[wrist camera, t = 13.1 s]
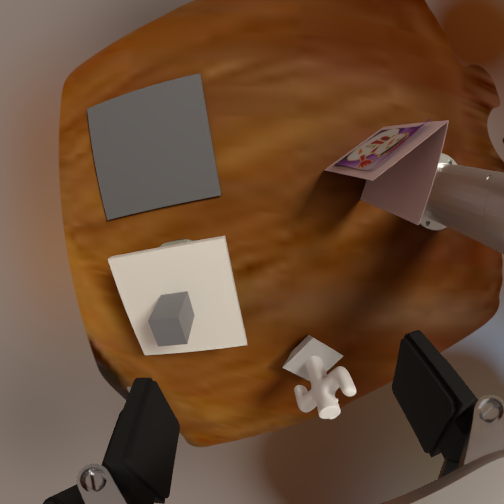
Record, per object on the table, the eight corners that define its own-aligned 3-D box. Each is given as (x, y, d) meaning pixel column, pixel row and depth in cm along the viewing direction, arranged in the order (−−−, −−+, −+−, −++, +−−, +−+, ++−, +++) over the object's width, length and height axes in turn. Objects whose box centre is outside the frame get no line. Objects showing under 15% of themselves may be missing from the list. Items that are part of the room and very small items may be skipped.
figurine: (275, 357, 46) (286, 425, 32) (312, 319, 44) (338, 385, 30) (305, 373, 48) (323, 437, 34) (341, 338, 45) (372, 400, 31)
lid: (225, 235, 33) (221, 256, 26) (247, 340, 37) (248, 375, 31) (111, 256, 33) (86, 279, 26) (146, 351, 38) (133, 383, 31)
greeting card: (379, 122, 34) (444, 112, 20) (404, 164, 36) (472, 175, 22) (320, 165, 36) (367, 172, 22) (349, 208, 38) (403, 238, 24)
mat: (200, 74, 31) (200, 73, 31) (221, 194, 37) (221, 195, 36) (88, 109, 32) (87, 108, 31) (108, 219, 37) (107, 220, 37)
